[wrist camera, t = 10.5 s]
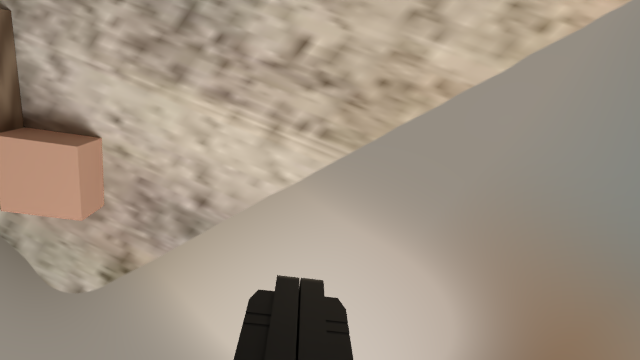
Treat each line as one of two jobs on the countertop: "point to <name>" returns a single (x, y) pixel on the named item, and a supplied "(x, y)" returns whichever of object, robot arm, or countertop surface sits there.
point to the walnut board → (8, 77)
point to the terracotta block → (50, 173)
